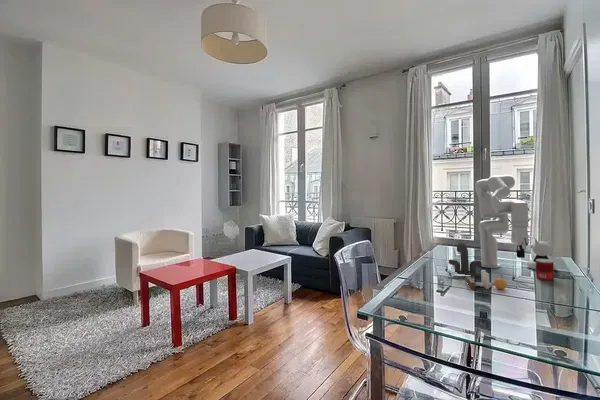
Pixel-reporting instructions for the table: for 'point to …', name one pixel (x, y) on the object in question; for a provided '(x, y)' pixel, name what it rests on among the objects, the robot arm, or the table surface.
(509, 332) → the table surface
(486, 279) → the pin
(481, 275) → the pin
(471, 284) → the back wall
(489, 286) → the front pin
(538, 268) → the canned food
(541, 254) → the decorative figurine
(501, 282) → the ball
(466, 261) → the faucet
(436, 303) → the table surface
